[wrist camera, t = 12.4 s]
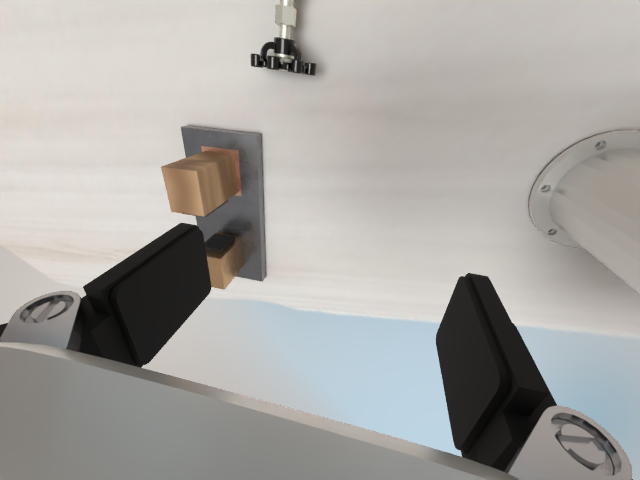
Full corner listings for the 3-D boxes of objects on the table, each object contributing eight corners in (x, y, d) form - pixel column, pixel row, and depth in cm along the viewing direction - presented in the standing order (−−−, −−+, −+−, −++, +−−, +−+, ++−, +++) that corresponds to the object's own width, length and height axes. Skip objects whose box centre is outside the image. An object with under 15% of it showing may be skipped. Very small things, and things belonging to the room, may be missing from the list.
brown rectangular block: (234, 154, 35) (196, 171, 28) (238, 196, 37) (205, 221, 31) (205, 151, 35) (161, 166, 28) (211, 193, 38) (172, 216, 31)
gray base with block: (261, 133, 34) (232, 144, 28) (266, 275, 45) (246, 307, 39) (188, 125, 36) (144, 134, 29) (209, 265, 47) (181, 293, 40)
